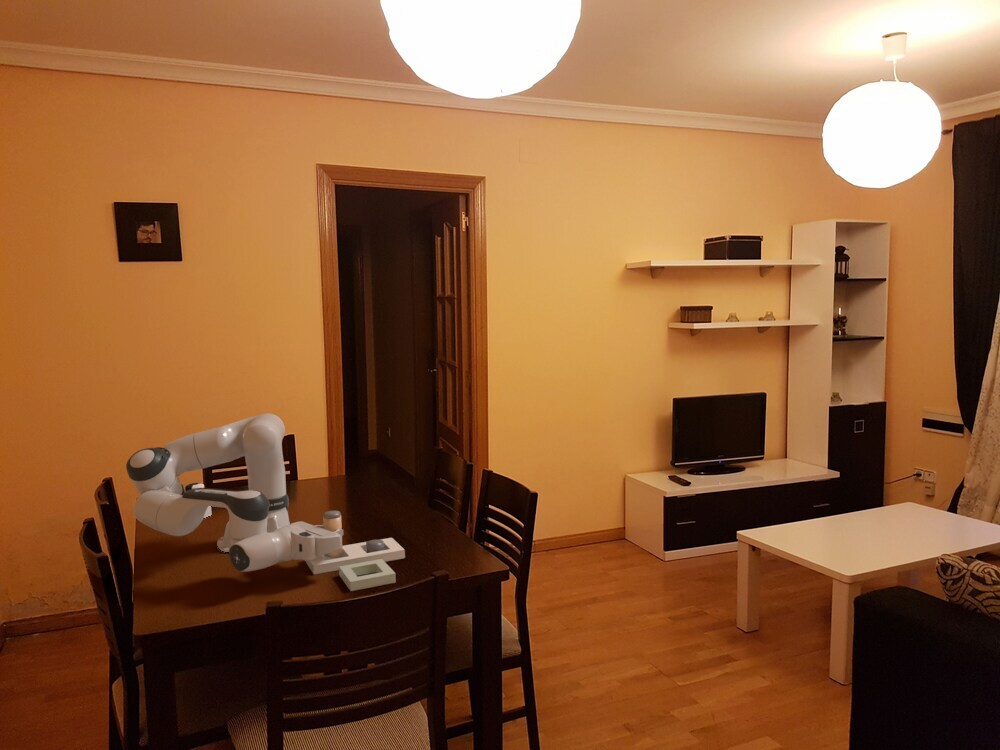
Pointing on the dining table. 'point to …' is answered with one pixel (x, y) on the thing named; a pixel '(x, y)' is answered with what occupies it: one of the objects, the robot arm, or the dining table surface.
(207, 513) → the medicine bottle
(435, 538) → the dining table surface
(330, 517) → the tan plug
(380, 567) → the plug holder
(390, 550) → the white rectangular tray
